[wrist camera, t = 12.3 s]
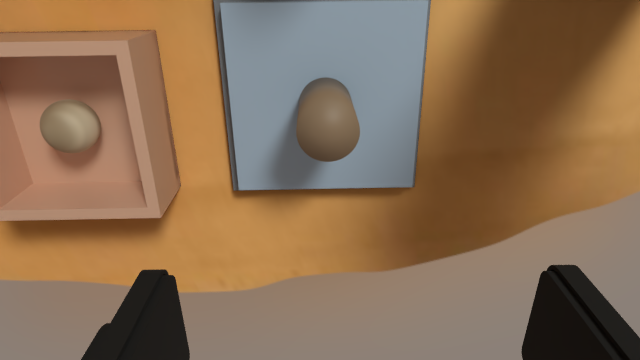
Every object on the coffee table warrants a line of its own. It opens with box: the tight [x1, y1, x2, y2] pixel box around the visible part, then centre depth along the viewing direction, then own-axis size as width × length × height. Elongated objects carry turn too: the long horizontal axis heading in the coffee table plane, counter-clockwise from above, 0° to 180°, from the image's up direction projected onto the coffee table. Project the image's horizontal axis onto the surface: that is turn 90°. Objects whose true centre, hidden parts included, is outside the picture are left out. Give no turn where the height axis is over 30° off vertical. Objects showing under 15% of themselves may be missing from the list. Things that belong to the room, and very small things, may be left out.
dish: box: [0, 30, 181, 221], centre depth 30 cm, size 12×12×5 cm
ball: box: [40, 99, 101, 153], centre depth 30 cm, size 4×4×4 cm
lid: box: [220, 0, 428, 190], centre depth 28 cm, size 13×13×7 cm
